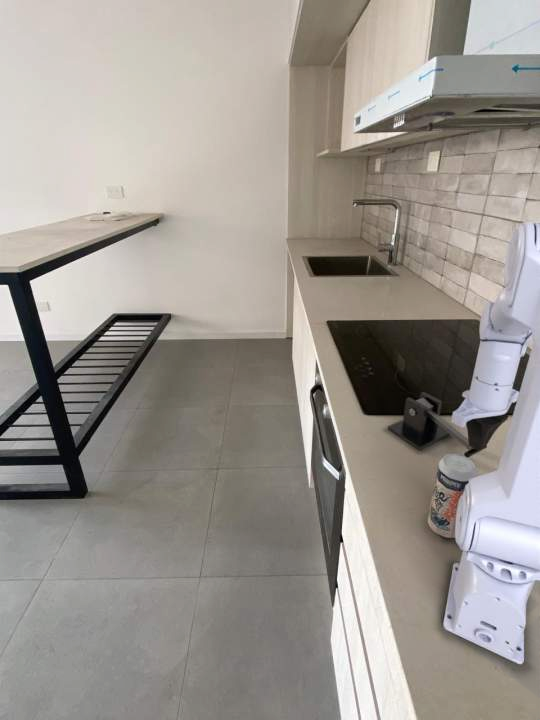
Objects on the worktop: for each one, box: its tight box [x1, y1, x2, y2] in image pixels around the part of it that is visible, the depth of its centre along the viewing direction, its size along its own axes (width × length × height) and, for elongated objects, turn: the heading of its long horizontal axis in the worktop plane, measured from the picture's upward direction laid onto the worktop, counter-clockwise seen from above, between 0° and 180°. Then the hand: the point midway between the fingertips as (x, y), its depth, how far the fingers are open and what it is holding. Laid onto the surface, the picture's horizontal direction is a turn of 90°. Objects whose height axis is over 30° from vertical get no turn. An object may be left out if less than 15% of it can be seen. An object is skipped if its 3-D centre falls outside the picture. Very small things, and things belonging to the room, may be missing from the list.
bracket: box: [387, 391, 452, 452], centre depth 78 cm, size 8×9×8 cm
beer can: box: [427, 453, 478, 539], centre depth 56 cm, size 5×5×12 cm
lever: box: [415, 398, 488, 459], centre depth 73 cm, size 14×5×2 cm, turn 30°
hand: (476, 446), depth 68 cm, fingers closed, pressing on lever
